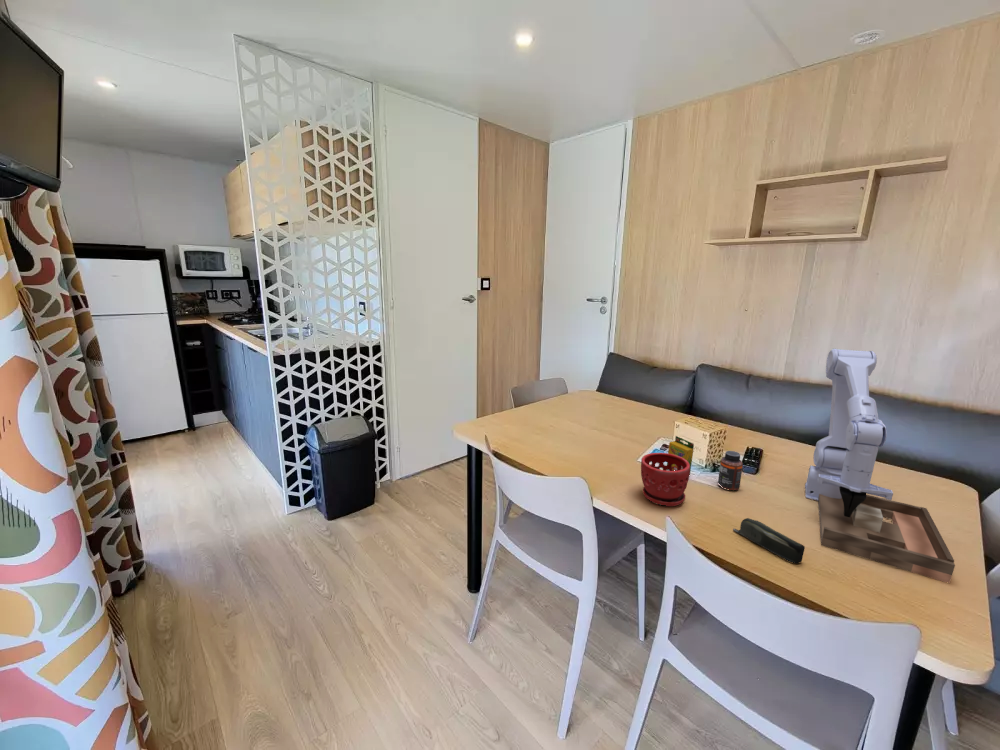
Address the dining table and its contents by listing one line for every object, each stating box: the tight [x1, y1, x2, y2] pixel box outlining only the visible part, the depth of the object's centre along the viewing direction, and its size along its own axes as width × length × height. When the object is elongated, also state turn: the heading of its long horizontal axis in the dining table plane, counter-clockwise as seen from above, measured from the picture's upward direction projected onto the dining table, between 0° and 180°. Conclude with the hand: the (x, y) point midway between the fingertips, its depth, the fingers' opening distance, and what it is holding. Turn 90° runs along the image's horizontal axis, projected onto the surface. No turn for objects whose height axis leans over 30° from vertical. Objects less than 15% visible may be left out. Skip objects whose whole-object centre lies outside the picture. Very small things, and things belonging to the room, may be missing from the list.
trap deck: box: [817, 494, 956, 584], centre depth 105 cm, size 22×27×5 cm
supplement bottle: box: [717, 450, 743, 491], centre depth 127 cm, size 6×6×11 cm
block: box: [852, 504, 884, 533], centre depth 105 cm, size 5×5×4 cm
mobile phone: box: [732, 517, 806, 564], centre depth 100 cm, size 5×3×15 cm
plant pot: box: [640, 452, 691, 507], centre depth 120 cm, size 13×13×12 cm
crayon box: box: [666, 435, 694, 472], centre depth 136 cm, size 7×3×12 cm, turn 27°
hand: (846, 515), depth 108 cm, fingers closed
